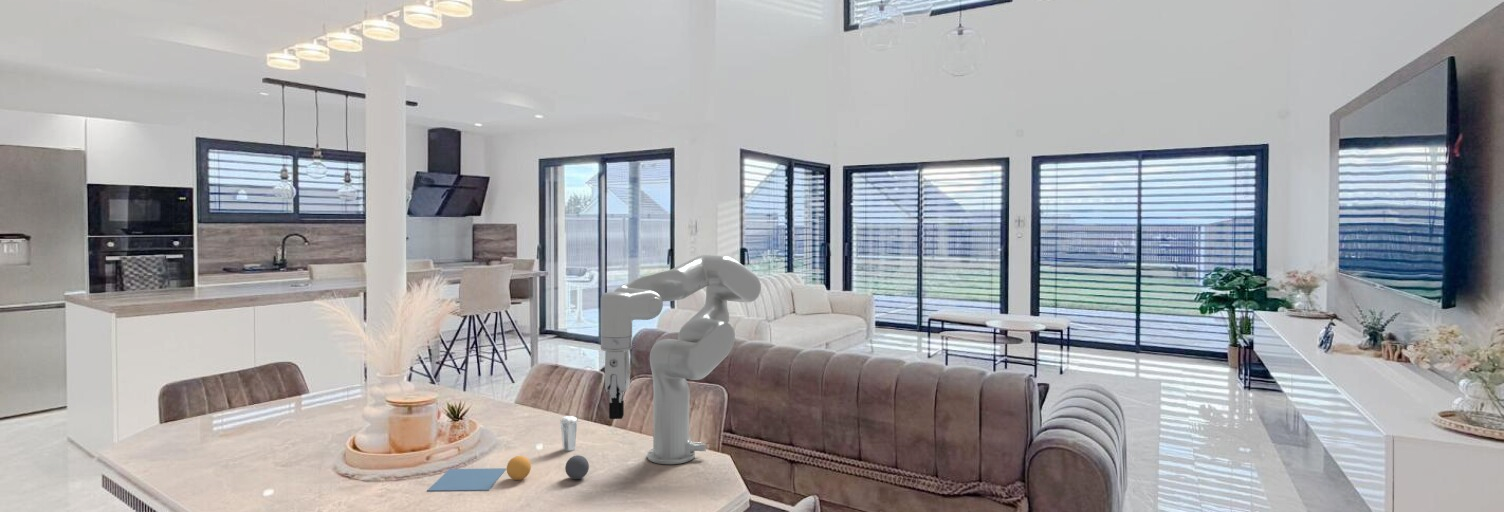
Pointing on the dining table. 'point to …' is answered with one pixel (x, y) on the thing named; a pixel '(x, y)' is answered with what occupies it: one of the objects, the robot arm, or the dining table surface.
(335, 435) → the dining table surface
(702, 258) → the robot arm
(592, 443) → the dining table surface
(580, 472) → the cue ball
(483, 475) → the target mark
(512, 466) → the object ball
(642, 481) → the dining table surface
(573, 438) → the milkshake
